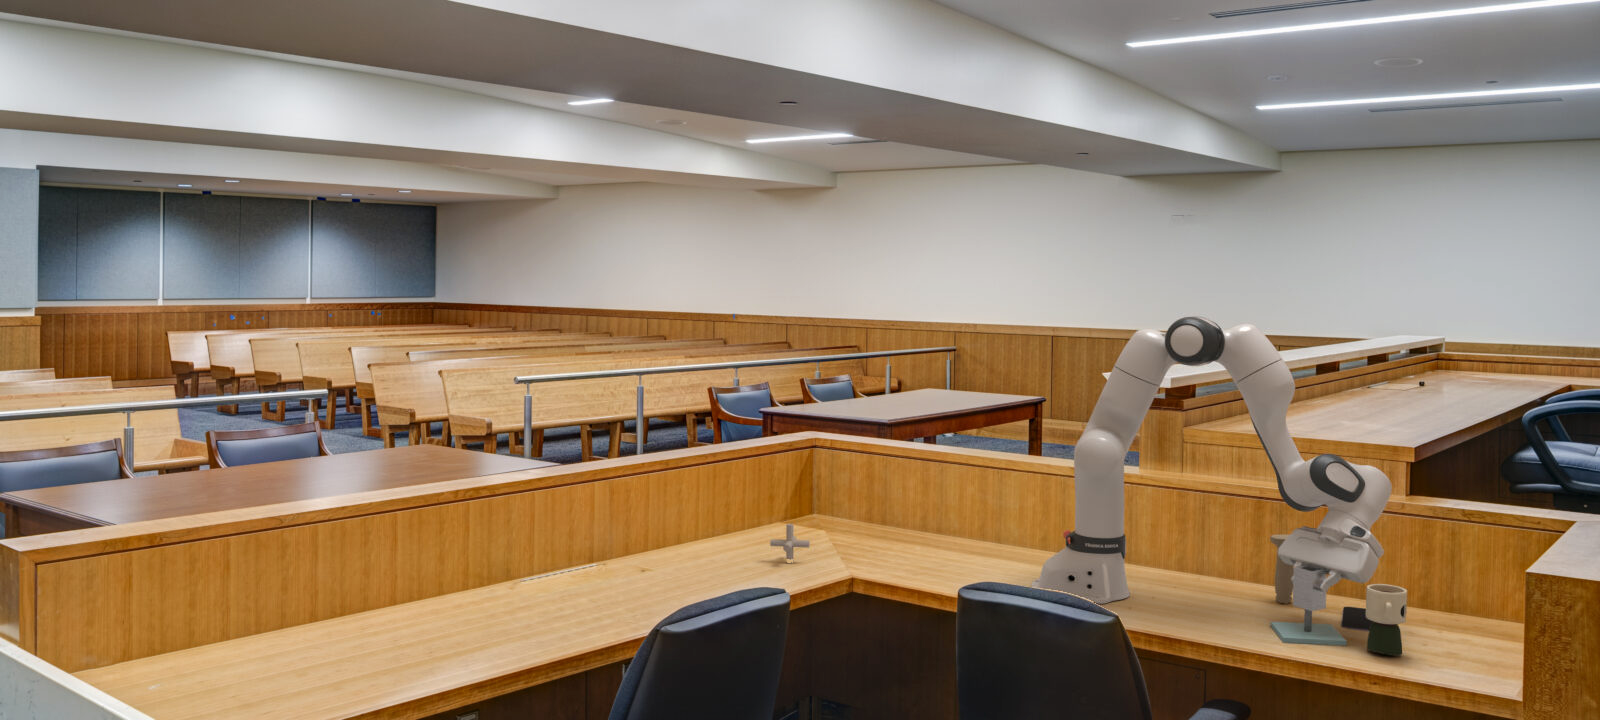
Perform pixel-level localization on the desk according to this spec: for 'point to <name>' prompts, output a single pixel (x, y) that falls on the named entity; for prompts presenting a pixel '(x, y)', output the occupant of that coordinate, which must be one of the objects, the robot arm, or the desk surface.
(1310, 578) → the grey hollow box
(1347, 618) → the smartphone
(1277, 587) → the handle
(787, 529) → the pipe connector
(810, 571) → the desk surface
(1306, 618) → the post base
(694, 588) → the desk surface
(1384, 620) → the character mug
